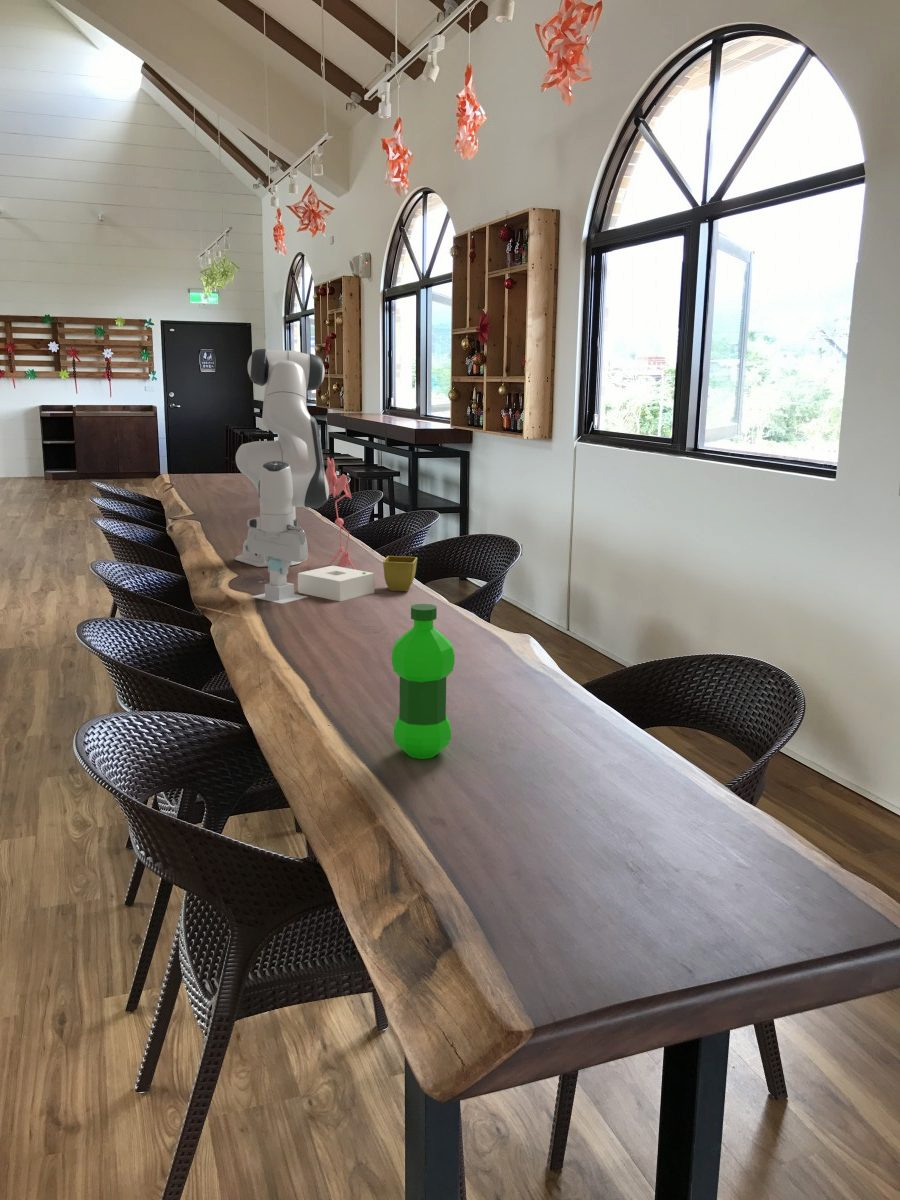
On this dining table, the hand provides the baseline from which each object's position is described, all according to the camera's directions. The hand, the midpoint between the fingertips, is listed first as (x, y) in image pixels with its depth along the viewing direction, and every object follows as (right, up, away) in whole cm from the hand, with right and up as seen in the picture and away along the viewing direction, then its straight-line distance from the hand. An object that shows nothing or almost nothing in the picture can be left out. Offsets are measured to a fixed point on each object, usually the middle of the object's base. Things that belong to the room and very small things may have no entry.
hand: (278, 573), depth 260 cm
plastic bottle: (+42, -33, -102) cm, 115 cm away
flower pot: (+33, -5, +14) cm, 36 cm away
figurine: (+9, +2, +41) cm, 43 cm away
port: (+15, -6, +8) cm, 18 cm away
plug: (0, -5, +1) cm, 5 cm away
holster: (0, -7, +1) cm, 7 cm away
